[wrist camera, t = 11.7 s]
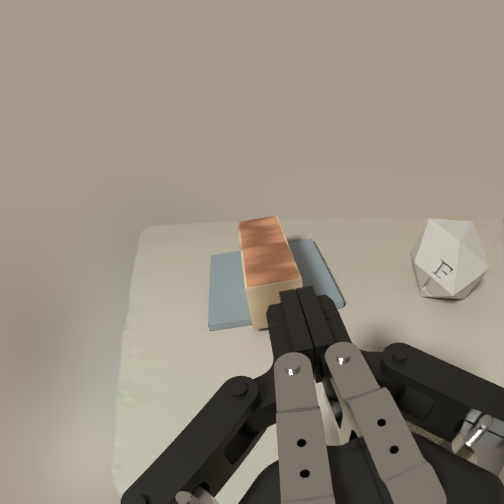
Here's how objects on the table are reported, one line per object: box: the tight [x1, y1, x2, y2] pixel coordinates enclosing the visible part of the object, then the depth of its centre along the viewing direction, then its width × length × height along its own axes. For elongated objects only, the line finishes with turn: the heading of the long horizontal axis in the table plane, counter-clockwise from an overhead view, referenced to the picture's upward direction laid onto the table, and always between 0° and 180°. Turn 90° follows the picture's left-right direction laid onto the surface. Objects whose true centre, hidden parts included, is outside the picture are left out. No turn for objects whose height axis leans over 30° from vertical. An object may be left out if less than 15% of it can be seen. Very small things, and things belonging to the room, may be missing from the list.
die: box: [410, 218, 489, 299], centre depth 29 cm, size 8×9×10 cm
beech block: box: [237, 216, 302, 330], centre depth 35 cm, size 5×5×14 cm
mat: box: [208, 239, 344, 331], centre depth 38 cm, size 14×14×1 cm
